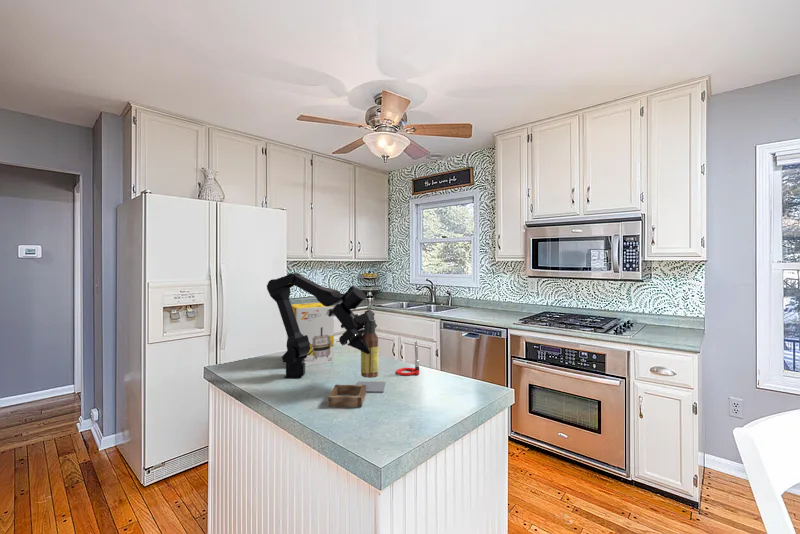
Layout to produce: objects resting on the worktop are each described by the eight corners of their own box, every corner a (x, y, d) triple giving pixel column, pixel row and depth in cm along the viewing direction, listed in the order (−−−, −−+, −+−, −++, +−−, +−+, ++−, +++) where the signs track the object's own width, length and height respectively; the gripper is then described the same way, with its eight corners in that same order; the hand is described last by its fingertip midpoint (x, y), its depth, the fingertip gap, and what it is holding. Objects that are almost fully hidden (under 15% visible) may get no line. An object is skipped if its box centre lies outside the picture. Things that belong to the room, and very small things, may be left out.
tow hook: (395, 377, 145) (419, 376, 145) (394, 344, 145) (417, 343, 145) (396, 370, 154) (419, 370, 153) (395, 339, 154) (417, 338, 153)
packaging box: (296, 367, 156) (296, 308, 155) (288, 358, 170) (287, 304, 170) (333, 362, 164) (333, 306, 163) (322, 354, 178) (322, 302, 177)
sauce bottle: (378, 374, 134) (380, 319, 136) (378, 378, 128) (380, 320, 129) (359, 374, 134) (362, 318, 135) (359, 378, 128) (361, 320, 129)
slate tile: (354, 392, 127) (354, 390, 127) (358, 382, 137) (358, 381, 137) (383, 392, 127) (383, 391, 127) (385, 383, 137) (385, 381, 137)
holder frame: (327, 406, 114) (327, 397, 114) (335, 393, 126) (335, 384, 126) (361, 407, 114) (361, 397, 114) (366, 393, 125) (366, 385, 125)
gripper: (347, 306, 124) (376, 342, 120) (372, 300, 141) (399, 331, 137) (327, 327, 127) (354, 363, 123) (354, 319, 145) (379, 350, 140)
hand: (373, 351), depth 131 cm, fingers closed on sauce bottle, 6 cm apart
